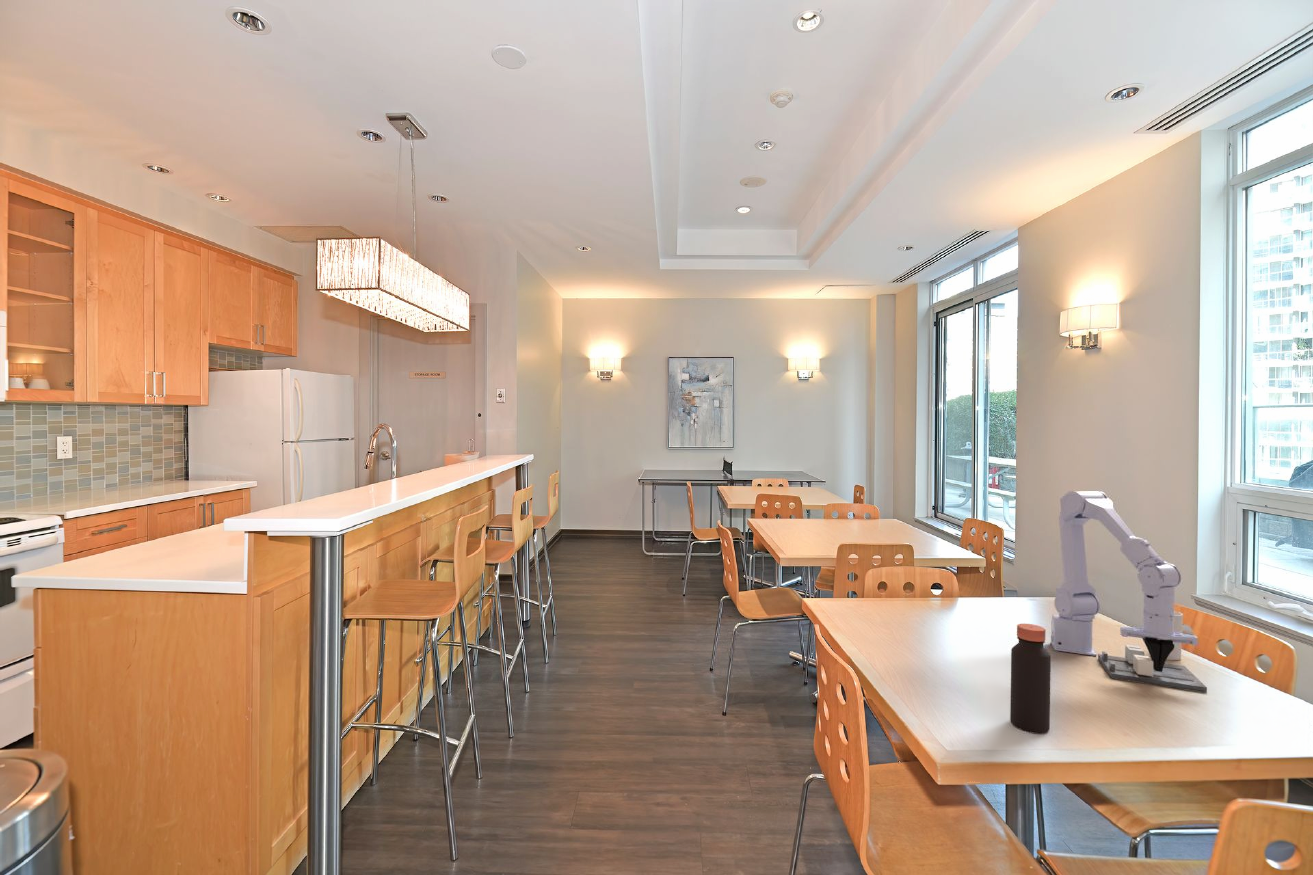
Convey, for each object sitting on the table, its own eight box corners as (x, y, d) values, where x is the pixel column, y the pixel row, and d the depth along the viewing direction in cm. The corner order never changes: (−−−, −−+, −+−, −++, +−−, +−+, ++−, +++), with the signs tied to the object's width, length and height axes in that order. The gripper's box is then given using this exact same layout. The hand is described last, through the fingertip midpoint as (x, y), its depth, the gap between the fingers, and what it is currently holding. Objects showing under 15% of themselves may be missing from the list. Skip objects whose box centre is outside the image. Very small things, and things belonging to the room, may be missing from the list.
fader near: (1137, 673, 148) (1137, 659, 148) (1133, 668, 152) (1133, 653, 152) (1153, 676, 147) (1153, 661, 147) (1148, 670, 151) (1148, 655, 151)
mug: (1185, 662, 161) (1186, 616, 161) (1153, 658, 164) (1154, 613, 164) (1173, 650, 170) (1174, 607, 170) (1143, 646, 173) (1144, 604, 173)
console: (1111, 678, 149) (1111, 666, 149) (1097, 658, 163) (1098, 647, 163) (1207, 692, 142) (1207, 680, 142) (1184, 670, 155) (1184, 659, 155)
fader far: (1129, 663, 156) (1129, 649, 156) (1125, 658, 159) (1125, 644, 159) (1143, 665, 154) (1144, 650, 154) (1139, 660, 158) (1139, 646, 158)
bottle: (1035, 718, 127) (1036, 621, 127) (1057, 734, 120) (1059, 632, 120) (1003, 718, 127) (1004, 621, 127) (1023, 734, 120) (1025, 632, 120)
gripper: (1125, 613, 148) (1124, 670, 148) (1203, 622, 142) (1202, 681, 142) (1118, 606, 154) (1117, 660, 154) (1192, 614, 148) (1191, 670, 148)
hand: (1157, 669), depth 148 cm, fingers closed
